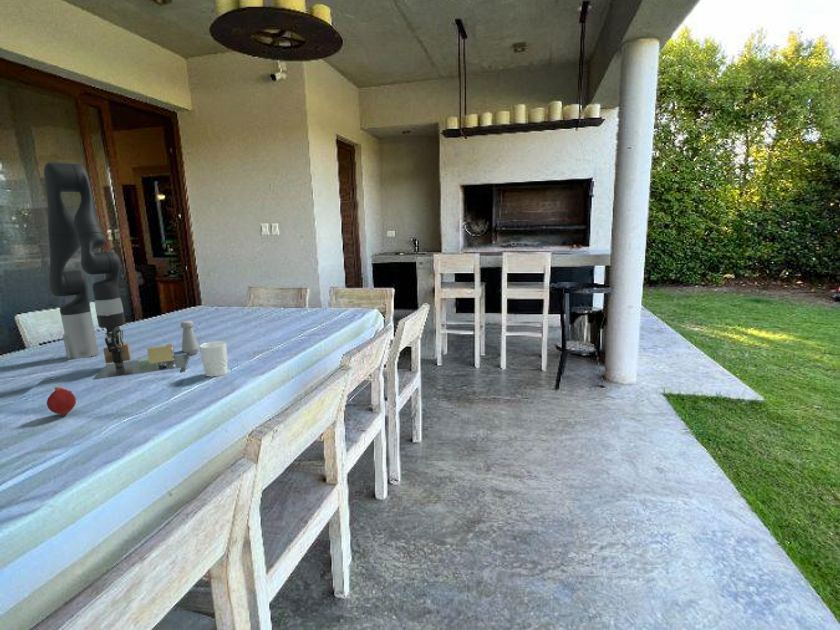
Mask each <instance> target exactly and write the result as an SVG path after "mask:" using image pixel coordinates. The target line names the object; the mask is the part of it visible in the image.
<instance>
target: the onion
mask: <svg viewBox="0 0 840 630" xmlns="http://www.w3.org/2000/svg"><path fill="white" fill-rule="evenodd" d="M76 403H77V400H76V395H74V394H73V392H72V391H70V390H69V389H66V388H62V387H61V386H56V387H54V391H53V392H51V393H50V395H49V396H48V398H47V400H46V406H47V408H48V410H49V411H50V412H52V413H54V414H57V415H59V416H62V417H63V416H66V415H68V413H70V412H71V411H72V410H73V409H74V407H75V405H76Z"/></svg>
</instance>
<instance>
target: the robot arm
mask: <svg viewBox="0 0 840 630" xmlns="http://www.w3.org/2000/svg"><path fill="white" fill-rule="evenodd" d="M43 178H44V185H45V193H46V201H47V214H48V215H47V218H48V219H47V220H48V221H47V222H48V223H47V224H48V225H47V226H48V227H47V232H48V233H47V234H48V245H49V268H48V269H49V270H48V271H49V273H48V286H49V290H50V292H51V295H53V296H54V297H60V298H61V297H69V296H75V298H74V299H73V300H72V301H70V302H68V303H65V304H64V305H62V306H60V307H59V313H60V318H61V323H62V328H63V334H62V338H63V343H64V349H65V353H66V359H67V360H80V359H86V358H87V359H88V358H91V356H92V357H94V356H97V355H99V347H98V344H97V336H96V332H95V327H94V321H93V315H92V311H91V304H90V297H89V290H88V288H89V287H88V282H87V281H88V280H87V277H86V275H85V274H87V275H93V276H94V275H102V274H104V275H105V274H107V275H106V277H105V278H104V279H102V280H99V281H96V282H94V283H93V284H92V293H93V297H94V306H95V307H94V308H95V313H96V319H97V325H98V328H100V329H106V332H105V337H104V341H105V345H106V348H107V347H108V350H109V352H111V353H112V357H113V363H121V361H122V360H121V355H120V347H119V346H123V345H124V344H125V343H124V330H123V329H121V328H120V327H121V326H125V324H126V318H125V312H124V306H123V302H122V298H121V293H120V288H119V280H120V274H121V273H120V272H121V267H122V265H121V263H122V262H121V258H120V257H119V255H118V254H117V253H116V252H114V251H100V252H98V251H97V252H93V251H94V250H97V249H98V250H99V249H100V248H102V247H105V245H106V244H107V241H106V237H105V234H104V232H103V229H102V226H101V224H100V221H99V218H98V214H97V210H96V205H95V200H94V196H93V190H92V187H91V182H90V178H89V175H88V172H87V171H86V168H85V167H84V166H83V165H82V164H79V163H72V162H71V163H70V162H54V161H53V162H47V163H46V164H45V165H44V169H43ZM62 192H63V193H64V192H66V193H79V197H80V203H79V206H78V209H77V211H76V213H75V215H74V214H73V213H72V212H71V211H70V209H69V208H68V207H67V206H66V204H65V203H64V202H63V199H62ZM79 249H80V255H81V257H80V264H81V269H82V270H79V269H78V270H76V269H75V270H65V267H66V266H67V263H68V261H70V259H71V258H72V257H73V256H74V255H75V254H76V253H77V251H79ZM83 271H84V272H85V273H84V272H83ZM113 347H115V348H113Z"/></svg>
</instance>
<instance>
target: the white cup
mask: <svg viewBox="0 0 840 630" xmlns="http://www.w3.org/2000/svg"><path fill="white" fill-rule="evenodd" d="M227 350H228V348H227V342H226V341H221V340H220V341H219V340H218V341H209V342H204V343H202V344H200V345H199V352H200V357H201V363H202V367H203V369H204V376H206V377H207V376H210V378H213V376H216V377H221V376H224V375H226V374H228V372H229V370H228V368H229V367H228V351H227Z"/></svg>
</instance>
